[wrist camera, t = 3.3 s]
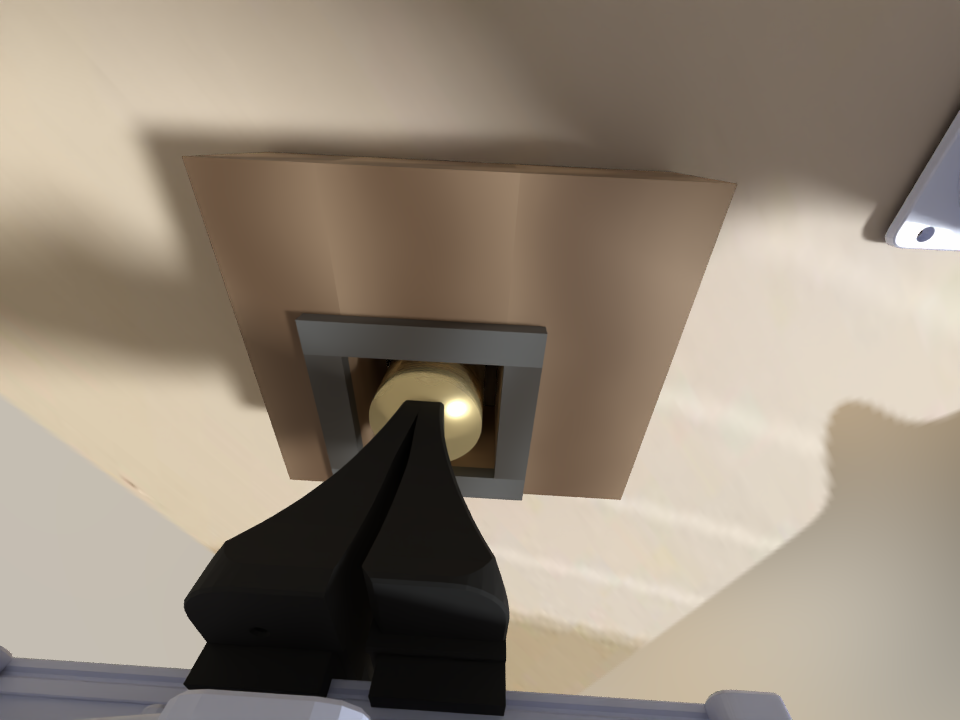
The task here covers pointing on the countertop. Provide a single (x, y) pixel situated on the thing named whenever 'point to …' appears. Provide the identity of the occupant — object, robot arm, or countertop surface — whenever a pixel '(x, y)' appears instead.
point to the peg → (435, 398)
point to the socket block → (462, 300)
